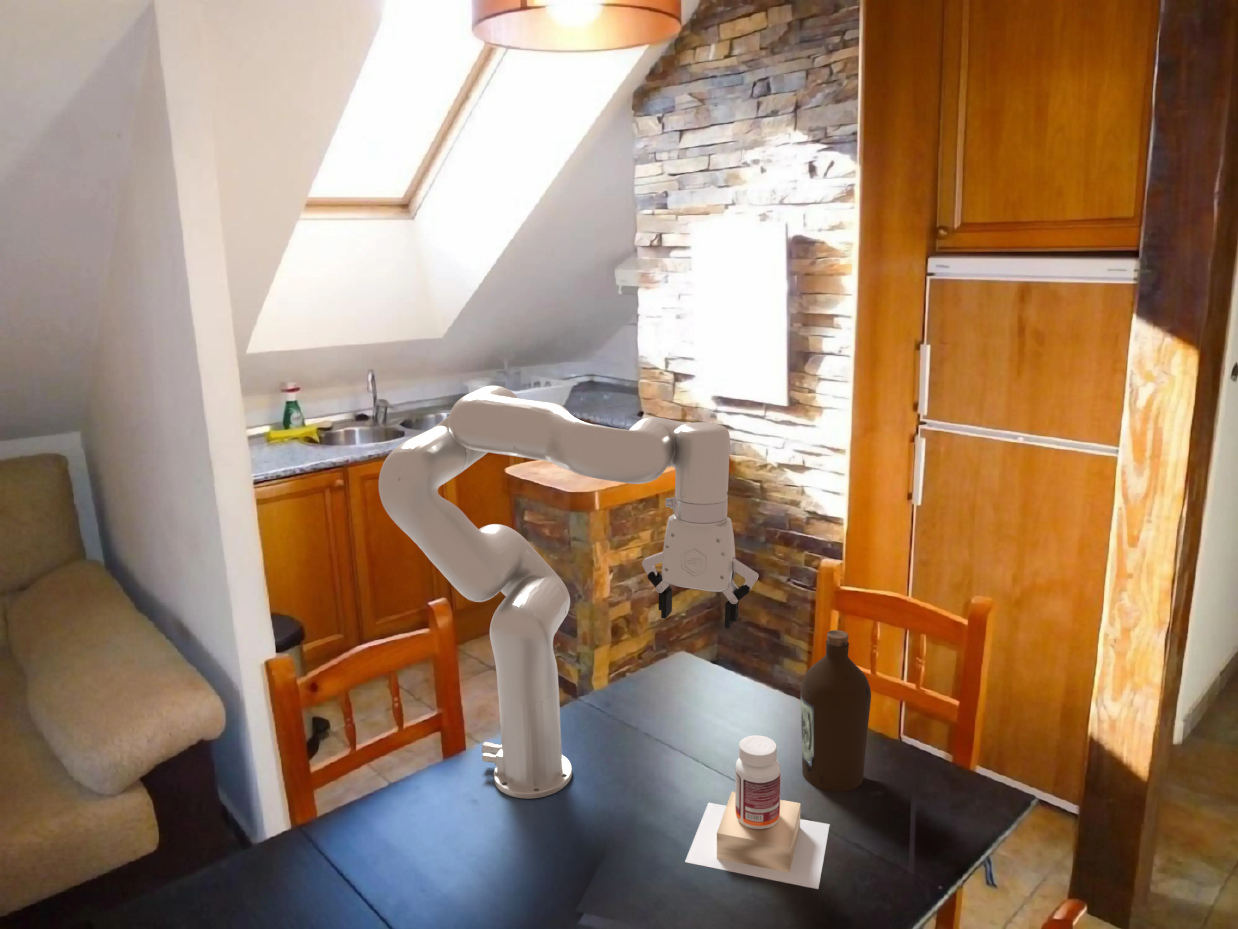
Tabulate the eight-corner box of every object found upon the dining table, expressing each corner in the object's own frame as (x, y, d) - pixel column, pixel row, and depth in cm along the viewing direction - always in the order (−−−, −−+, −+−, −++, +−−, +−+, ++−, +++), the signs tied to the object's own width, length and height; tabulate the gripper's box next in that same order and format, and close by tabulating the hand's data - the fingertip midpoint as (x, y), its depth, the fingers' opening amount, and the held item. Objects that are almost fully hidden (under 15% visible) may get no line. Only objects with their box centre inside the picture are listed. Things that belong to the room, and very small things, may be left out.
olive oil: (859, 761, 147) (865, 619, 141) (873, 800, 137) (880, 649, 131) (794, 760, 148) (797, 619, 142) (803, 799, 138) (807, 649, 132)
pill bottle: (788, 820, 125) (790, 747, 122) (755, 837, 122) (756, 762, 119) (758, 798, 130) (760, 728, 127) (726, 814, 127) (726, 742, 124)
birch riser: (716, 858, 124) (716, 833, 123) (731, 815, 133) (731, 791, 132) (789, 873, 120) (790, 847, 119) (799, 827, 130) (800, 803, 129)
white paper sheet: (684, 868, 123) (684, 862, 123) (708, 808, 136) (708, 802, 136) (818, 895, 118) (818, 889, 117) (829, 830, 130) (829, 824, 130)
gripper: (635, 510, 128) (633, 621, 132) (754, 524, 122) (749, 640, 126) (652, 496, 135) (650, 602, 139) (766, 509, 129) (760, 619, 133)
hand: (697, 620), depth 133 cm, fingers open, 9 cm apart
